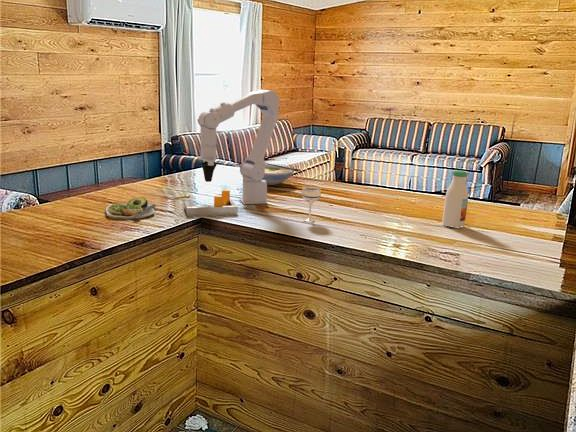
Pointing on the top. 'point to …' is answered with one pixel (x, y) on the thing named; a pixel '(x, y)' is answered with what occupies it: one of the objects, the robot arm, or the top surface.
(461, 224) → the milk bottle
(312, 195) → the wineglass
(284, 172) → the ramen bowl
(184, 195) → the brass spoon
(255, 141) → the robot arm
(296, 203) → the top surface
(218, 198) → the pipe clamp
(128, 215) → the salad plate
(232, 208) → the hitch bracket
